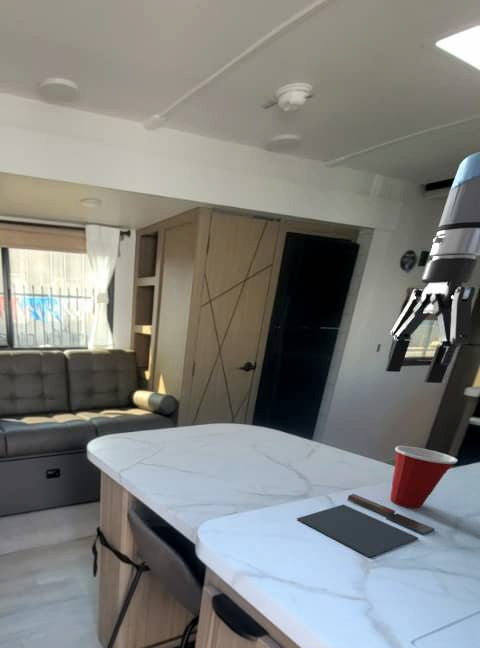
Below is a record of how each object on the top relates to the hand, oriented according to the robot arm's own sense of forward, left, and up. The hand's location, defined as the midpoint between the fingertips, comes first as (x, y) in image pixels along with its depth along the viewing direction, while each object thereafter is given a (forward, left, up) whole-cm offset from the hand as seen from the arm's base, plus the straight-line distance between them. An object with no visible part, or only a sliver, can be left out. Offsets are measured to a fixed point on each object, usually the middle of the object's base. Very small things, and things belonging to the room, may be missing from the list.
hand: (411, 376), depth 84 cm
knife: (0, +13, -26) cm, 29 cm away
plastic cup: (-6, +4, -27) cm, 27 cm away
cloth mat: (+8, +22, -26) cm, 35 cm away
